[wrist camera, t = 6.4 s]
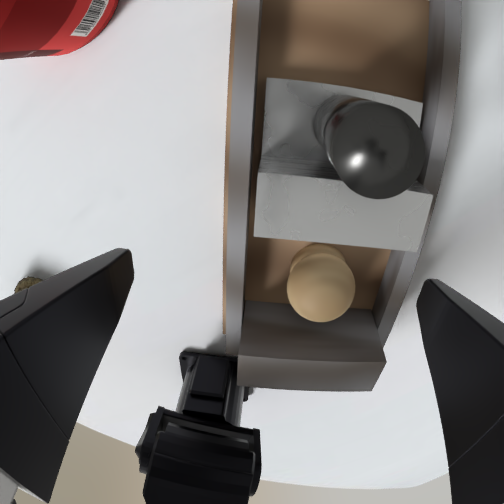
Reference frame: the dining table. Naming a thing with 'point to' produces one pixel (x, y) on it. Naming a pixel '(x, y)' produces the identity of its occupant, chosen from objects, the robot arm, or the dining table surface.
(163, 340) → the dining table surface
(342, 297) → the tan rounded piece
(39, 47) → the canned food
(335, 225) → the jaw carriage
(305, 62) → the press base
